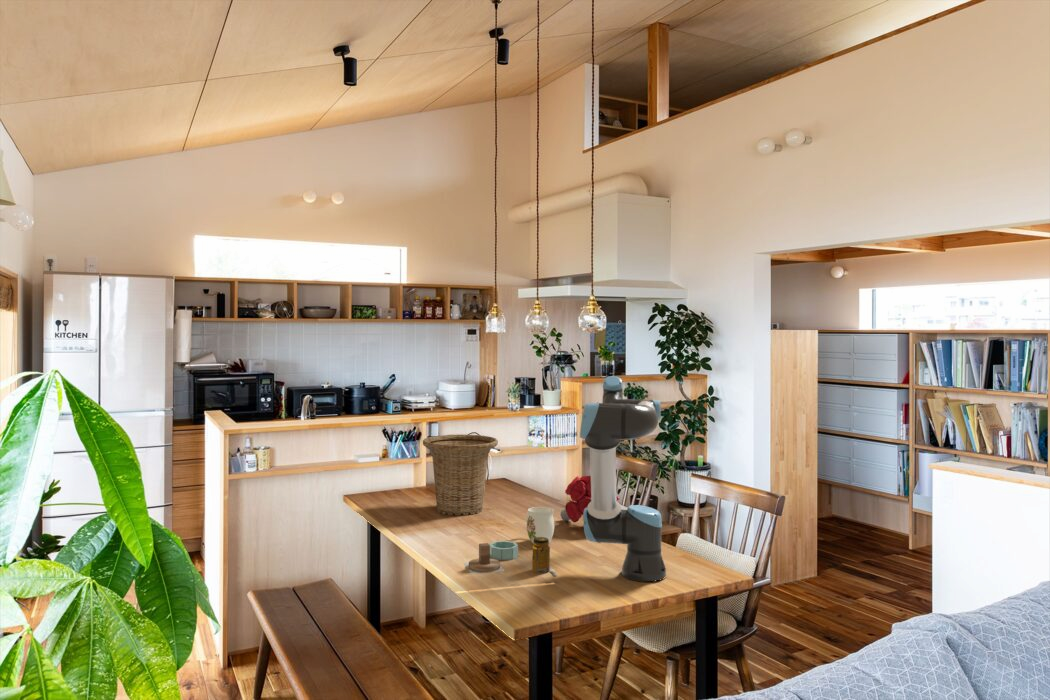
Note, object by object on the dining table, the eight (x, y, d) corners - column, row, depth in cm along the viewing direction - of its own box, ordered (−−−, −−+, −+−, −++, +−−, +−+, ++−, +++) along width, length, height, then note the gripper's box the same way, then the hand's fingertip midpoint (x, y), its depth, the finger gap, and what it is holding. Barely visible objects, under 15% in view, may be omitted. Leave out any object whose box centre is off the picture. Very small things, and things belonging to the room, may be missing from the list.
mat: (505, 573, 253) (505, 571, 253) (471, 576, 249) (471, 574, 249) (496, 562, 264) (496, 560, 264) (463, 565, 261) (464, 563, 261)
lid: (503, 570, 253) (503, 547, 253) (472, 573, 250) (472, 550, 250) (495, 561, 264) (495, 539, 263) (465, 563, 260) (465, 541, 260)
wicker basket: (469, 523, 318) (470, 447, 317) (406, 513, 335) (407, 441, 334) (511, 507, 348) (511, 438, 347) (451, 498, 366) (451, 432, 365)
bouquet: (553, 543, 313) (600, 520, 294) (538, 490, 322) (582, 465, 303) (588, 537, 327) (635, 515, 308) (572, 487, 336) (617, 463, 317)
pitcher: (538, 534, 301) (538, 501, 301) (563, 545, 286) (563, 511, 286) (515, 538, 296) (516, 504, 295) (539, 549, 280) (540, 514, 280)
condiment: (530, 570, 257) (530, 536, 257) (554, 569, 258) (554, 535, 257) (532, 576, 250) (532, 542, 249) (557, 576, 250) (557, 541, 250)
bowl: (520, 561, 267) (520, 547, 267) (493, 563, 264) (493, 549, 264) (512, 553, 276) (512, 540, 276) (487, 555, 273) (487, 542, 273)
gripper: (645, 404, 290) (645, 443, 302) (582, 404, 294) (585, 442, 306) (645, 417, 284) (645, 456, 296) (581, 416, 288) (584, 455, 300)
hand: (614, 449), depth 301 cm, fingers open, 13 cm apart
